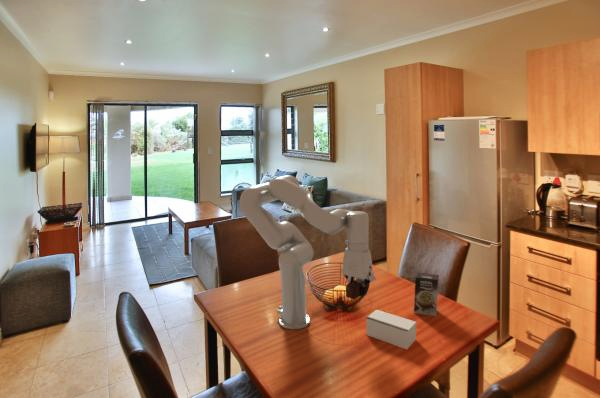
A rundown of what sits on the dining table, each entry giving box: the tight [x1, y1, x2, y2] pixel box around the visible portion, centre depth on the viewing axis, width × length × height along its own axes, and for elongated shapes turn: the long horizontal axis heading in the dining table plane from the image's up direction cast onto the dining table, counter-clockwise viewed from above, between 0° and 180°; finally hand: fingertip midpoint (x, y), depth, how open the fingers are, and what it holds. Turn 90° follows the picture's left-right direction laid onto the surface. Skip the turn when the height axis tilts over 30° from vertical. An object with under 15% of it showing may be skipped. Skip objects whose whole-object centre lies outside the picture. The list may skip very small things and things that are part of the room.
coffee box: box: [413, 272, 439, 317], centre depth 152 cm, size 9×6×16 cm
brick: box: [345, 278, 370, 300], centre depth 133 cm, size 11×4×5 cm, turn 141°
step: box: [365, 309, 417, 350], centre depth 134 cm, size 16×8×7 cm, turn 51°
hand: (357, 293), depth 133 cm, fingers closed on brick, 4 cm apart
